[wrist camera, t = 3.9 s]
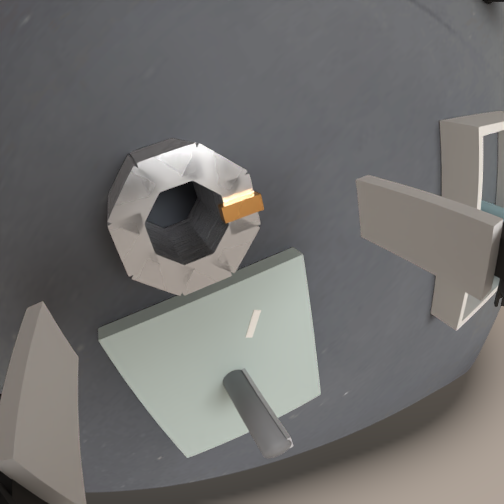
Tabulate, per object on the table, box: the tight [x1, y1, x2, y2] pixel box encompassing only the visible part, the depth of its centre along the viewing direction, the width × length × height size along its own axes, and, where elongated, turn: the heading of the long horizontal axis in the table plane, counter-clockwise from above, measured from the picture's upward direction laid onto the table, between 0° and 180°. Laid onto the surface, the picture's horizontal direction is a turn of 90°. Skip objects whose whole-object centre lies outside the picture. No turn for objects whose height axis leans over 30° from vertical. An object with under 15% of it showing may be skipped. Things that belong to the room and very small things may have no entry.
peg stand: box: [98, 247, 321, 458], centre depth 23 cm, size 16×18×10 cm
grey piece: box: [107, 138, 264, 296], centre depth 17 cm, size 7×7×7 cm
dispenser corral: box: [431, 111, 504, 331], centre depth 34 cm, size 18×26×5 cm
